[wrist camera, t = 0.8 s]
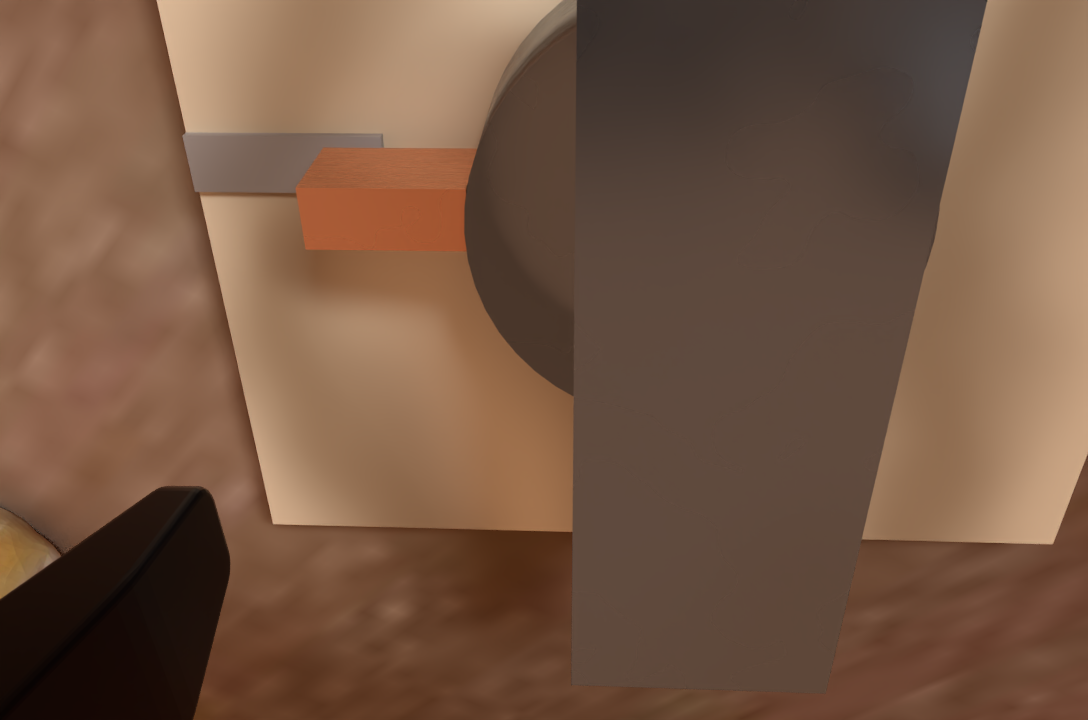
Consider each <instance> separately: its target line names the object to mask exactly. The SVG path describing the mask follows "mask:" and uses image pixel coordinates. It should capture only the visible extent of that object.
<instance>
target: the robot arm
mask: <svg viewBox="0 0 1088 720" xmlns="http://www.w3.org/2000/svg"><path fill="white" fill-rule="evenodd" d="M229 575H230V555H229V550H228V547H227V543H226V540H225V536H224V533H223V529H222V526H221V522H220V519H219V515H218V512H217V508H216V505H215V502H214V499H213V497H212V495H211V493H210V492H209V491H208V490H207V489H206V488H203V487H200V486H165V487H161V488H158V489H156V490H155V491H153V492H151V493H150V494H149V495H147V496H146V497H144V498H143V499H142V500H140V501H139V502H137V503H136V504H134V505H133V506H132V507H130V508H129V509H127V510H126V511H124V512H123V513H122V514H120V515H119V516H117V517H116V518H115V519H113V520H112V521H110V522H109V523H107V524H106V525H105V526H103V527H102V528H100V529H99V530H97V531H96V532H95V533H93V534H92V535H90V536H89V537H88V538H86V539H85V540H83V541H82V542H80V543H79V544H78V545H76V546H75V547H73V548H72V549H71V550H69V551H68V552H66V553H65V554H63V555H62V556H61V557H59V558H58V559H56V560H55V561H53V562H52V563H51V564H49V565H48V566H46V567H45V568H44V569H42V570H41V571H39V572H38V573H36V574H35V575H34V576H32V577H31V578H29V579H28V580H26V581H25V582H24V583H22V584H21V585H19V586H18V587H17V588H15V589H14V590H12V591H11V592H9V593H8V594H7V595H5V596H4V597H2V598H1V599H0V720H193V718H194V714H195V711H196V707H197V703H198V699H199V695H200V691H201V687H202V683H203V679H204V675H205V672H206V668H207V664H208V660H209V656H210V652H211V648H212V644H213V640H214V636H215V632H216V628H217V624H218V620H219V616H220V612H221V608H222V604H223V600H224V597H225V593H226V589H227V585H228V580H229Z"/></svg>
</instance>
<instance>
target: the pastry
mask: <svg viewBox="0 0 1088 720" xmlns="http://www.w3.org/2000/svg"><path fill="white" fill-rule="evenodd" d="M59 557H61V555H60V553H59V552H58V551H57V550H56V548H55V547H54V546H53V545H52V544H51V543H50V542H49V541H47V540H46V539H45V538H44V537H43V536H42V535H40V534H38V533H37V532H36V531H35V530H34V529H33V528H32V527H31V526H30V525H29V524H28V523H27V522H26V521H25V520H24V519H22V518H21V517H19V516H17V515H16V514H14V513H12V512H10V511H7V510H5V509H2V508H0V599H1V598H2V597H4V596H5V595H7V594H8V593H9V592H11V591H12V590H14V589H15V588H17V587H18V586H19V585H21V584H22V583H24V582H25V581H26V580H28V579H29V578H31V577H32V576H34V575H35V574H36V573H38V572H39V571H41V570H42V569H44V568H45V567H46V566H48V565H49V564H51V563H52V562H53V561H55V560H56V559H58V558H59Z"/></svg>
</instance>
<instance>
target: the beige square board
mask: <svg viewBox="0 0 1088 720" xmlns="http://www.w3.org/2000/svg"><path fill="white" fill-rule="evenodd" d="M562 1H563V0H157V4H158V9H159V13H160V18H161V22H162V27H163V31H164V36H165V40H166V45H167V49H168V53H169V58H170V62H171V67H172V71H173V76H174V80H175V85H176V89H177V94H178V98H179V103H180V107H181V112H182V116H183V121H184V125H185V130H186V133H185V134H184V135H183V141H184V145H185V150H186V154H187V158H188V163H189V167H190V172H191V176H192V181H193V185H194V190H195V192H199V193H200V197H201V202H202V206H203V211H204V215H205V220H206V224H207V229H208V233H209V238H210V242H211V247H212V251H213V256H214V260H215V265H216V269H217V274H218V278H219V283H220V287H221V292H222V296H223V301H224V305H225V310H226V314H227V319H228V323H229V328H230V332H231V337H232V341H233V346H234V350H235V355H236V359H237V364H238V368H239V373H240V377H241V382H242V386H243V391H244V395H245V400H246V404H247V408H248V413H249V417H250V422H251V426H252V431H253V435H254V440H255V444H256V449H257V453H258V458H259V462H260V467H261V471H262V476H263V480H264V485H265V489H266V494H267V498H268V503H269V507H270V512H271V516H272V521H273V524H287V525H326V526H365V527H404V528H442V529H481V530H520V531H558V532H572V529H573V404H574V397H573V396H572V395H570V394H568V393H566V392H565V391H563V390H561V389H559V388H558V387H556V386H554V385H553V384H552V383H550V382H549V381H548V380H546V379H545V378H544V377H542V376H541V375H539V374H538V373H537V372H535V371H534V370H533V369H532V368H531V367H530V366H529V365H528V364H527V363H526V362H525V361H524V360H523V359H522V358H520V357H519V356H518V355H517V354H516V353H515V351H514V350H513V349H512V348H511V347H510V345H509V344H508V343H507V342H506V340H505V339H504V338H503V337H502V335H501V334H500V333H499V331H498V330H497V328H496V327H495V325H494V323H493V322H492V320H491V318H490V317H489V315H488V313H487V312H486V310H485V308H484V306H483V303H482V301H481V299H480V296H479V294H478V292H477V289H476V287H475V284H474V281H473V277H472V274H471V270H470V266H469V263H468V258H467V252H460V251H378V250H306V249H305V243H304V237H303V231H302V225H301V218H300V212H299V206H298V200H297V194H296V186H297V185H298V183H299V182H300V181H301V179H302V178H303V176H304V175H305V173H306V172H307V170H308V169H309V168H310V166H311V165H312V163H313V162H314V160H315V159H316V157H317V156H318V154H319V153H320V152H321V150H322V149H323V147H330V148H470V149H477V148H478V145H479V141H480V138H481V135H482V131H483V128H484V125H485V122H486V118H487V115H488V112H489V108H490V105H491V102H492V98H493V95H494V92H495V90H496V88H497V85H498V83H499V81H500V79H501V77H502V74H503V72H504V70H505V68H506V66H507V65H508V63H509V61H510V60H511V58H512V57H513V55H514V54H515V52H516V50H517V49H518V47H519V46H520V44H521V43H522V42H523V40H524V39H525V38H526V37H527V36H528V34H529V33H530V32H531V31H532V30H533V28H534V27H535V26H536V25H537V24H538V22H539V21H541V20H542V19H543V18H544V17H545V16H546V15H547V14H548V13H549V12H550V11H551V10H553V9H554V8H555V7H556V6H557V5H558V4H559V3H560V2H562ZM1087 454H1088V0H987V5H986V9H985V13H984V18H983V22H982V26H981V30H980V35H979V39H978V43H977V48H976V52H975V56H974V60H973V65H972V69H971V73H970V78H969V82H968V86H967V90H966V95H965V99H964V103H963V108H962V112H961V116H960V120H959V125H958V129H957V133H956V138H955V142H954V146H953V150H952V155H951V159H950V163H949V167H948V172H947V176H946V180H945V185H944V189H943V193H942V197H941V202H940V211H939V217H938V223H937V230H936V236H935V240H934V244H933V247H932V250H931V253H930V256H929V260H928V263H927V266H926V268H925V270H924V275H923V279H922V283H921V287H920V292H919V296H918V300H917V305H916V309H915V313H914V317H913V322H912V326H911V330H910V334H909V339H908V343H907V347H906V352H905V356H904V360H903V364H902V369H901V373H900V377H899V382H898V386H897V390H896V394H895V399H894V403H893V407H892V412H891V416H890V420H889V424H888V429H887V433H886V437H885V442H884V446H883V450H882V454H881V459H880V463H879V467H878V471H877V476H876V480H875V484H874V489H873V493H872V497H871V501H870V506H869V510H868V514H867V519H866V523H865V527H864V531H863V536H862V539H868V540H907V541H946V542H984V543H1023V544H1053V543H1054V540H1055V537H1056V535H1057V532H1058V530H1059V527H1060V524H1061V522H1062V519H1063V517H1064V514H1065V511H1066V509H1067V506H1068V504H1069V501H1070V498H1071V496H1072V493H1073V491H1074V488H1075V485H1076V483H1077V480H1078V478H1079V475H1080V472H1081V470H1082V467H1083V464H1084V462H1085V459H1086V457H1087Z"/></svg>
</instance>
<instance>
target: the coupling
mask: <svg viewBox="0 0 1088 720" xmlns="http://www.w3.org/2000/svg"><path fill="white" fill-rule="evenodd" d="M986 5H987V0H563V1H562V2H560V3H559V4H558V5H557V6H556V7H555V8H554V9H553V10H551V11H550V12H549V13H548V14H547V15H546V16H545V17H544V18H543V19H542V20H541V21H539V22H538V24H537V25H536V26H535V27H534V28H533V30H532V31H531V32H530V33H529V34H528V36H527V37H526V38H525V39H524V40H523V42H522V43H521V44H520V46H519V47H518V49H517V50H516V52H515V54H514V55H513V57H512V58H511V60H510V61H509V63H508V65H507V66H506V68H505V70H504V72H503V74H502V77H501V79H500V81H499V83H498V85H497V88H496V90H495V92H494V95H493V98H492V102H491V105H490V108H489V112H488V115H487V118H486V122H485V125H484V128H483V131H482V135H481V138H480V141H479V145H478V148H477V149H470V148H330V147H323V149H322V150H321V152H320V153H319V154H318V156H317V157H316V159H315V160H314V162H313V163H312V165H311V166H310V168H309V169H308V170H307V172H306V173H305V175H304V176H303V178H302V179H301V181H300V182H299V183H298V185H297V186H296V194H297V200H298V206H299V212H300V218H301V225H302V231H303V237H304V243H305V249H306V250H378V251H460V252H467V258H468V263H469V266H470V270H471V274H472V277H473V281H474V284H475V287H476V289H477V292H478V294H479V296H480V299H481V301H482V303H483V306H484V308H485V310H486V312H487V313H488V315H489V317H490V318H491V320H492V322H493V323H494V325H495V327H496V328H497V330H498V331H499V333H500V334H501V335H502V337H503V338H504V339H505V340H506V342H507V343H508V344H509V345H510V347H511V348H512V349H513V350H514V351H515V353H516V354H517V355H518V356H519V357H520V358H522V359H523V360H524V361H525V362H526V363H527V364H528V365H529V366H530V367H531V368H532V369H533V370H534V371H535V372H537V373H538V374H539V375H541V376H542V377H544V378H545V379H546V380H548V381H549V382H550V383H552V384H553V385H554V386H556V387H558V388H559V389H561V390H563V391H565V392H566V393H568V394H570V395H572V396H573V397H574V404H573V529H572V653H571V685H585V686H615V687H645V688H675V689H705V690H735V691H765V692H795V693H825V694H826V690H827V686H828V681H829V677H830V673H831V668H832V664H833V660H834V656H835V651H836V647H837V643H838V638H839V634H840V630H841V626H842V621H843V617H844V613H845V609H846V604H847V600H848V596H849V591H850V587H851V583H852V579H853V574H854V570H855V566H856V561H857V557H858V553H859V549H860V544H861V540H862V536H863V531H864V527H865V523H866V519H867V514H868V510H869V506H870V501H871V497H872V493H873V489H874V484H875V480H876V476H877V471H878V467H879V463H880V459H881V454H882V450H883V446H884V442H885V437H886V433H887V429H888V424H889V420H890V416H891V412H892V407H893V403H894V399H895V394H896V390H897V386H898V382H899V377H900V373H901V369H902V364H903V360H904V356H905V352H906V347H907V343H908V339H909V334H910V330H911V326H912V322H913V317H914V313H915V309H916V305H917V300H918V296H919V292H920V287H921V283H922V279H923V275H924V270H925V268H926V266H927V263H928V260H929V256H930V253H931V250H932V247H933V244H934V240H935V236H936V230H937V223H938V217H939V211H940V202H941V197H942V193H943V189H944V185H945V180H946V176H947V172H948V167H949V163H950V159H951V155H952V150H953V146H954V142H955V138H956V133H957V129H958V125H959V120H960V116H961V112H962V108H963V103H964V99H965V95H966V90H967V86H968V82H969V78H970V73H971V69H972V65H973V60H974V56H975V52H976V48H977V43H978V39H979V35H980V30H981V26H982V22H983V18H984V13H985V9H986Z"/></svg>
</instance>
